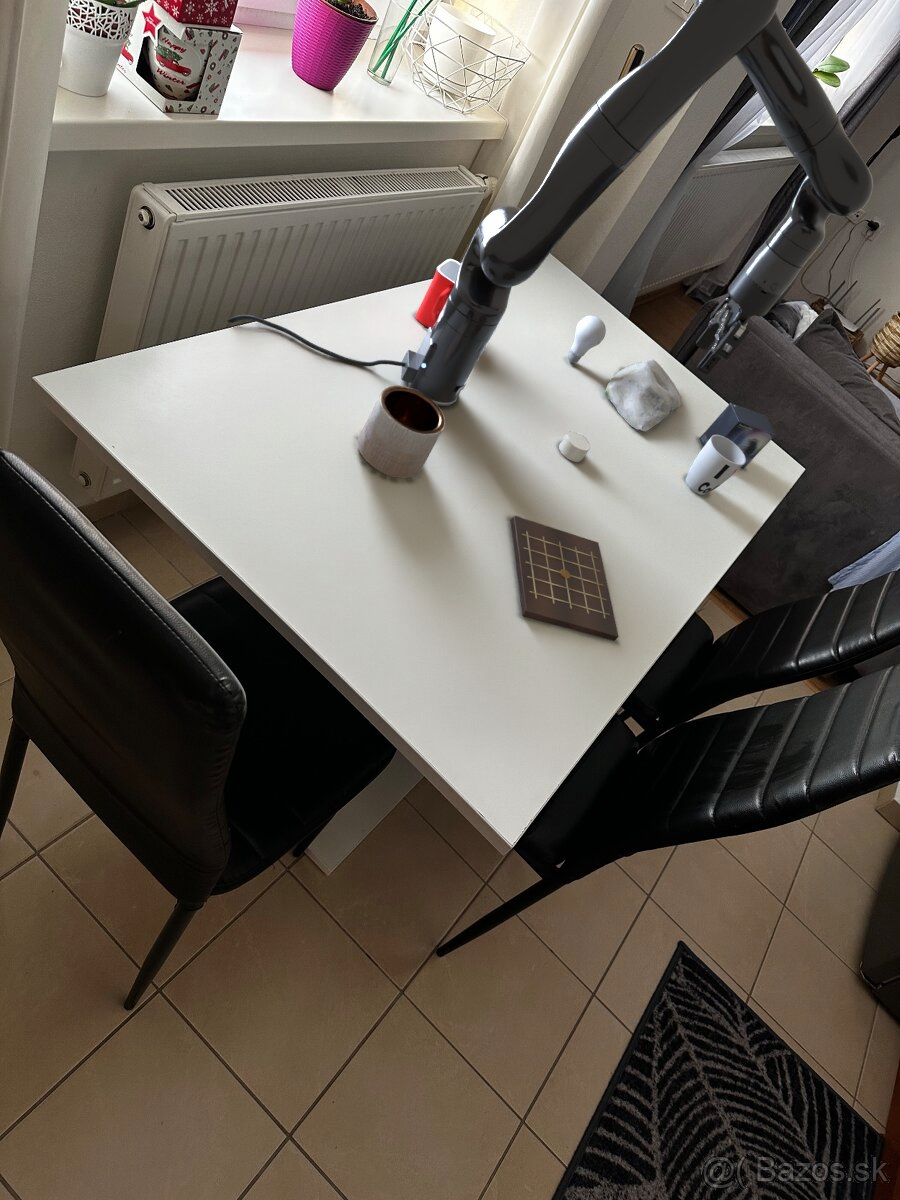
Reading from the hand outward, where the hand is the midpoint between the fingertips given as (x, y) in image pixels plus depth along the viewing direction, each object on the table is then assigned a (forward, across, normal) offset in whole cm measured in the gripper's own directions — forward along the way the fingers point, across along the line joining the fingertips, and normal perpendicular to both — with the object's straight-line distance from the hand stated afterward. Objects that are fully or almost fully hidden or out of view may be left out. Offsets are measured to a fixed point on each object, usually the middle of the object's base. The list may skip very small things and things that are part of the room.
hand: (700, 358), depth 147 cm
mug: (+25, -13, -42) cm, 51 cm away
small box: (+25, -23, +25) cm, 42 cm away
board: (+25, +40, -9) cm, 48 cm away
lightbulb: (+25, -27, -13) cm, 39 cm away
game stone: (+25, +5, -10) cm, 28 cm away
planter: (+25, +31, -41) cm, 58 cm away
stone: (+25, -28, +4) cm, 38 cm away
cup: (+25, -6, +18) cm, 31 cm away
